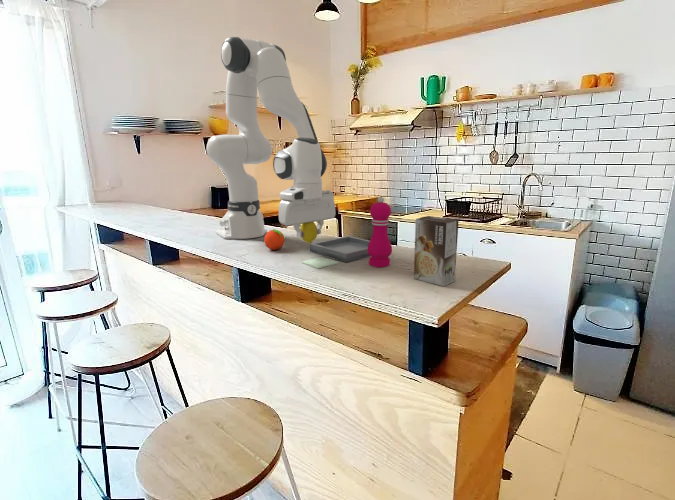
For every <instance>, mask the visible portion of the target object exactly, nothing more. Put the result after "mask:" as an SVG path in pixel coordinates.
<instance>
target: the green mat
mask: <svg viewBox="0 0 675 500" xmlns="http://www.w3.org/2000/svg"><path fill="white" fill-rule="evenodd" d="M339 263H340V261H339V260H335V259H332V258H329V257H326V256H320V257H315V258H312V259H307V260H303V261H301V264H303V265H307V266H310V267H313V268H316V269H323V268H326V267H330V266H335V265H338V264H339Z"/></svg>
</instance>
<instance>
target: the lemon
mask: <svg viewBox="0 0 675 500" xmlns="http://www.w3.org/2000/svg"><path fill="white" fill-rule="evenodd" d="M316 226H317V224H316V223H315V221H313V222H307V223H301V227H299V228H300V230H301V231H303V232H304V234H303V235H304V237H301V239H302V241H304V242H305V243H307V244H309V245H310V244H311V243H313V242H314V241H315V240H316V239H317V236H318V234H317V227H316Z"/></svg>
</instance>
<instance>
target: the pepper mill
mask: <svg viewBox="0 0 675 500" xmlns="http://www.w3.org/2000/svg"><path fill="white" fill-rule="evenodd" d="M384 201H385V199H384V197H382V196H379V197H378V198H377V202H375V203H373V204H372V205H371V206H370V211H369V214H370V216H371V225H372V235H371V237H370V240H369V241H370V242H369V244H368V250H367V252H368V254H369V255H370V256H369V258H368V265H369V266H371V267H373V268H385V267H389V266H390V265H391V258H390V256H391V254H392V252H393V247H392V242H391V241H390V237H389V234H388V226H389V225H390V223H389V221H390V219H389V218H390V216H392V209H391V206H390V205H389V204H388V203H386V202H384Z"/></svg>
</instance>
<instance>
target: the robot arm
mask: <svg viewBox="0 0 675 500" xmlns="http://www.w3.org/2000/svg"><path fill="white" fill-rule="evenodd" d="M220 57H221V62H222V65H223V66H224V68H225V69H226V71H227V75H226V85H225V115H226V117H227V119H228V120H229V121H230V122H231V123H232V124H234V125H235V126H237V129H238V134H217V135H214V136H211V137H209V139H208V141H207V144H206V148H205V149H206V154H207V156H208V158H209V160H210V161H211V162H212V163H214V164H215V165H216V166H217V167H218V168H219V169H220V170H221V172H222V173H223V175H224V177H225V180H226V182H227V190H228V197H229V200H228V201H227V211H226V213H225V214H224V216H222V218H221V220H220V221H219V226H220V227H221V229H220V228H219V229H216V232H215V234H217V235H219V236H220V237H221V238H222V239H225V240H230V239H234V240H237V239H238V240H241V239H247V240H248V239H254V238H255V239H256V238H260V237H263V236H265V235H266V234H267V232H268V229H265V221H264V215H263V213H262V212H261V210H260V209H261V203H260V199H259V192H258V182H257V181H258V180H257V179H256V178H255V177H254V176H252V175H251V174H249V173H247V172H246V169H245V167H244V165H258V164H262V163H265V162H267V161H269V160H270V158H271V156H272V152H273V148H272V144H271V141H270V140H269V139H268V138H267V137H266V136H265V135H264V133H262V130H261V128H260V125H259V122H258V121H259V120H258V96H259V99H260V102H261V104H262V106H263V107H264V108H265V109H266V110H267V111H268V112H269V113H271V114H273V115H275V116H277V117H281V118H282V119H284V120H286V121H287V122H289V123H290V124H291V125H292V126H293V127H294V129H295V130H296V133H297V135H298V137H297V138H294V139H293V141H292V144H291V145H289V146H287V147H285V148H284V149H281V150H279V151H277V152H276V153H275V155H274V157H273V161H272V166H273V171H274V173H275V175H276V177H278V178H279V179H280V180H283V181H284V180H285V181H287V180H289V181H293V185H292V186H290V187H288V188H287V189H285V190H282V191H281V192H279V198H280V199H281V200H280V202H279V205H278V221H279V223H280V224H281V225H283V226H286V227H287V226H293V229H294V230H295V232H296V237H297V238H301V237H304V235H303V234H304V232H303V231H301V230H300V227H301V224H302V223H307V222H316V223H317V224H316V227H317V235H320V234H322V228H323V225H324V220H331V219H334V218H335V217H336V204H335V197H334V195H335V194H334V193H333V192H332V191H331V189H329V190H328V189H326V190H323V179H322V177H323V176H324V174H325V173H326V171H327V167H328V162H327V157H326V155H325V154H324V151H323V149H322V148H321V145H320V142H319V141H318V137H317V134H316V132H315V131H316V130H315V129H314V128H315V127H314V126H313V122H312V120H311V117H310V113H309V111H308V109H307V107H306V105H305V104H304V103H303V102H302V101H301V100H300V98H299V96H298V95H297V93H296V91H295V88H294V85H293V82H292V78H291V74H290V70H289V68H288V64H287V57H286V54H285V51H284V50H283V48H281V47H280V46H278V45H276V44H274V43H269V42H265V41H262V40H259V39H251V38H250V39H249V38H240V37H238V36H232V37H227V38H226V39H225V40H224V42H223V43H222V45H221V50H220ZM301 239H302V238H301Z"/></svg>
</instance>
